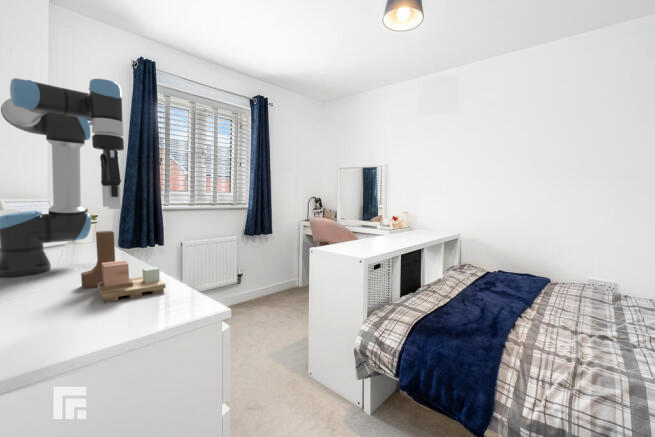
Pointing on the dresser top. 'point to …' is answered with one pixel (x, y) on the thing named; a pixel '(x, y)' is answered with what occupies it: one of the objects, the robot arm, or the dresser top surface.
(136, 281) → the wooden pallet
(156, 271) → the pale green cube
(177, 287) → the dresser top surface
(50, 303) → the dresser top surface
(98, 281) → the wooden block
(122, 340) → the dresser top surface
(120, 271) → the pink slab on base
